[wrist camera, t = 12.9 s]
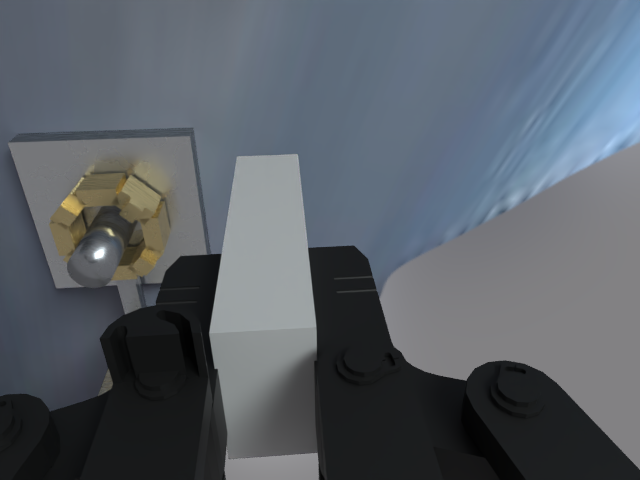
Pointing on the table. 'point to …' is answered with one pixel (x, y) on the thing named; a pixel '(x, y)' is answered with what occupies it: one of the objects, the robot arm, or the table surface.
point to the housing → (104, 221)
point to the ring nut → (134, 206)
